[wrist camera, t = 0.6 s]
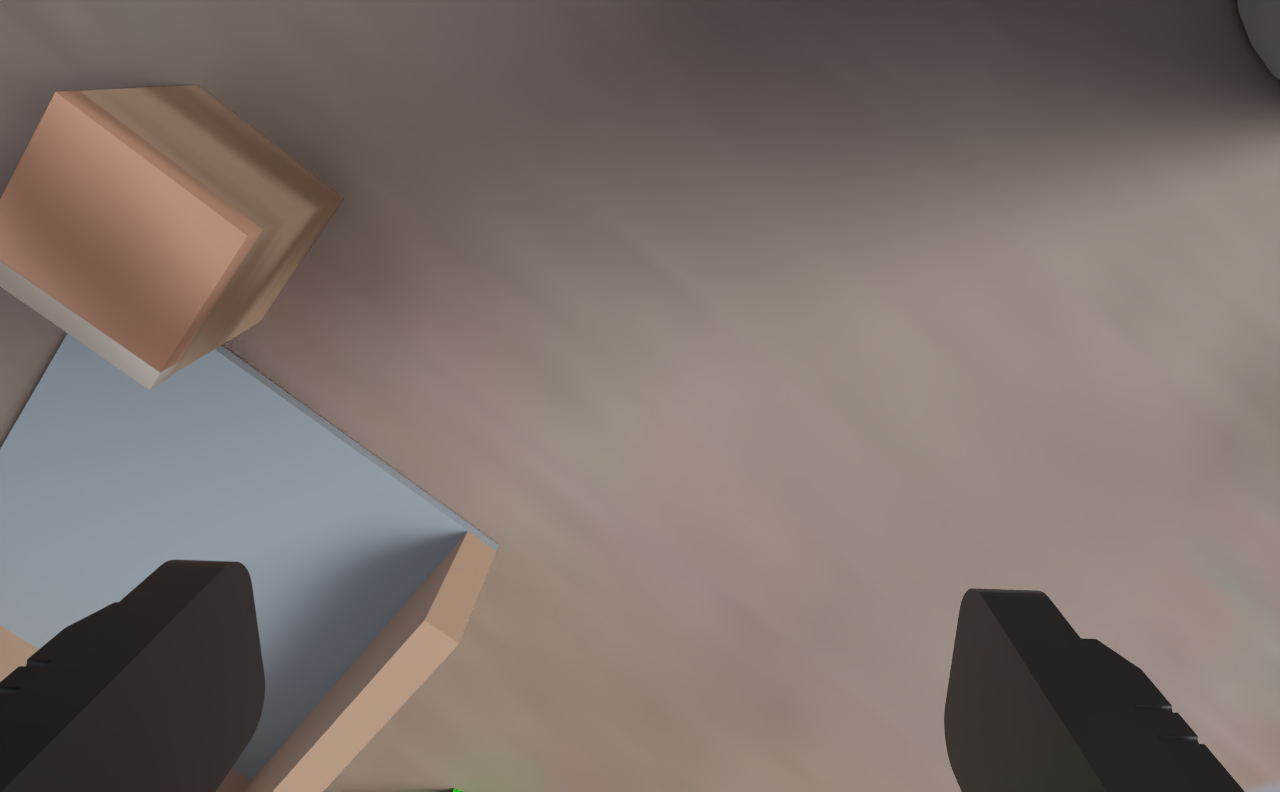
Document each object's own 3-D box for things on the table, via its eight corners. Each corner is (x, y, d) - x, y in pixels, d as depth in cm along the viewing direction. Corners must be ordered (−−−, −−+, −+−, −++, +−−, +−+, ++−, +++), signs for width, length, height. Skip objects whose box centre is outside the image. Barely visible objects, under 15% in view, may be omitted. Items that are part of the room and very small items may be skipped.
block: (198, 84, 25) (53, 91, 19) (344, 198, 26) (247, 236, 20) (120, 220, 26) (-35, 262, 21) (260, 322, 27) (149, 390, 22)
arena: (112, 267, 27) (-22, 314, 22) (499, 545, 30) (458, 644, 25) (-79, 593, 32) (-224, 693, 27) (267, 805, 35) (194, 931, 30)
